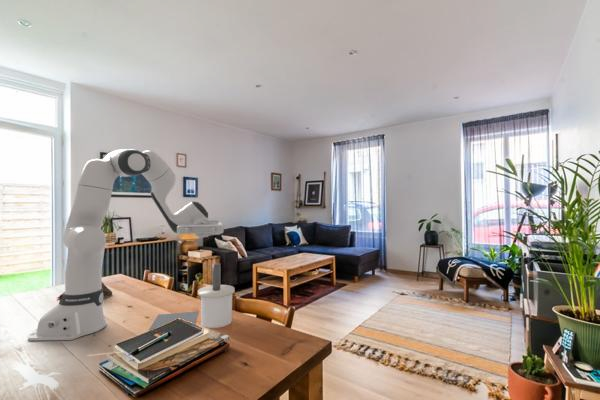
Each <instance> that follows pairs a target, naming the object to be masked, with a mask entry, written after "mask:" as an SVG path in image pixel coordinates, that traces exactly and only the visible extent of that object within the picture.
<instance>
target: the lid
mask: <svg viewBox="0 0 600 400" xmlns="http://www.w3.org/2000/svg"><path fill="white" fill-rule="evenodd" d="M221 271H222V269H221V263H217V262H216V263H212V285H206V286H203V287H201V288H199V289H198V290H197V296H199V297H200V298H201V297H205V298H218V297H224V296H228V295H231V294H232V295H233V294H234V293H235V287H234V286H233V285H228V284H221Z"/></svg>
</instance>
